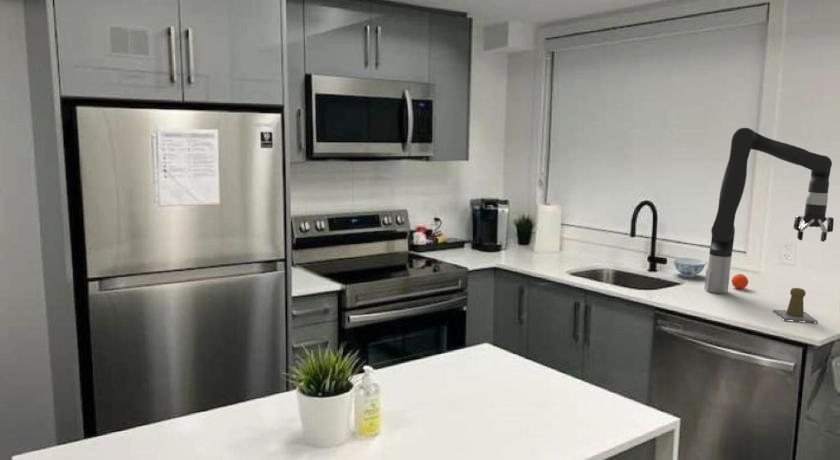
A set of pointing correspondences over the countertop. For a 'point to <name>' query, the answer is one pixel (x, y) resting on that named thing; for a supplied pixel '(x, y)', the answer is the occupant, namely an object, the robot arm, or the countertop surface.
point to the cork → (796, 303)
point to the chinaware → (689, 266)
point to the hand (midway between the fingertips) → (811, 240)
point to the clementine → (739, 281)
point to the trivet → (786, 317)
